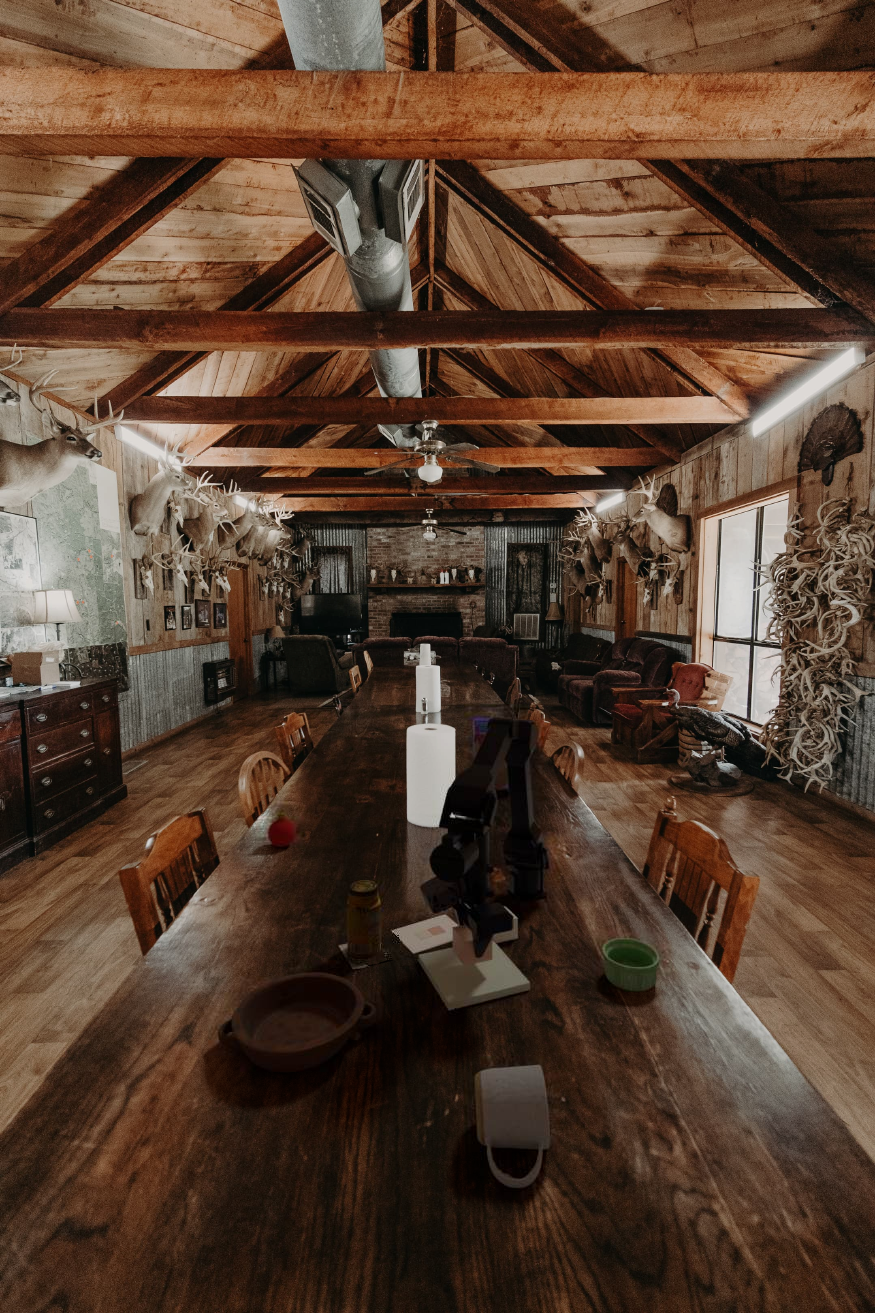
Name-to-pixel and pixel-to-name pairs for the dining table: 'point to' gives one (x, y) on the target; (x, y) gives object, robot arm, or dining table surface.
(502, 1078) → the ceramic mug
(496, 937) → the cream brick
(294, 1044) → the dish
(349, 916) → the condiment
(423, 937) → the page
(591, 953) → the dining table surface
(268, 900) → the dining table surface
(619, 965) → the ramekin
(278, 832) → the christmas ornament
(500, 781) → the cereal box
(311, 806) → the dining table surface
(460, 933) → the terracotta brick
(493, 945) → the baseplate
